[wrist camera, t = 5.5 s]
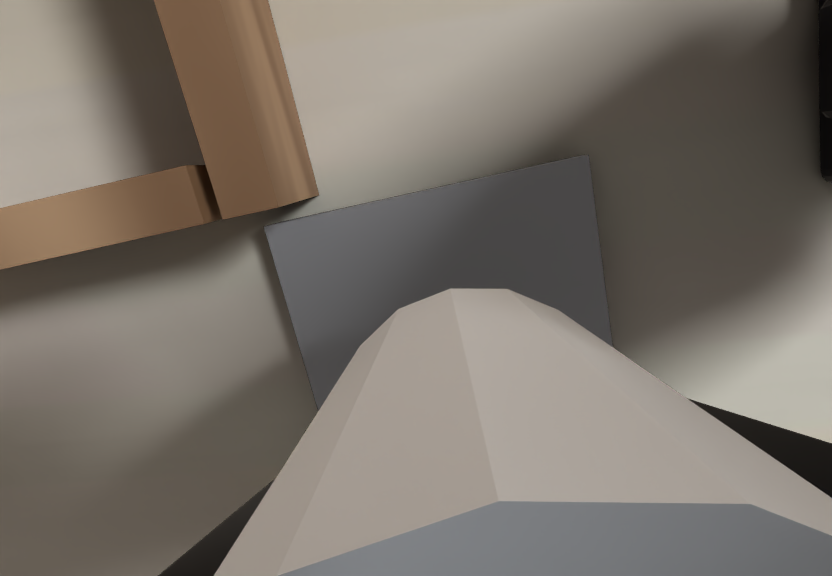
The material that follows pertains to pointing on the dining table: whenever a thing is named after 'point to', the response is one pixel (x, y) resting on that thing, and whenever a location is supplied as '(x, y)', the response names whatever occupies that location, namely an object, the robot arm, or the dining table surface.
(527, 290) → the coaster
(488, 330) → the white cup
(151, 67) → the dining table surface
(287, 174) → the brown wooden u-shaped piece
